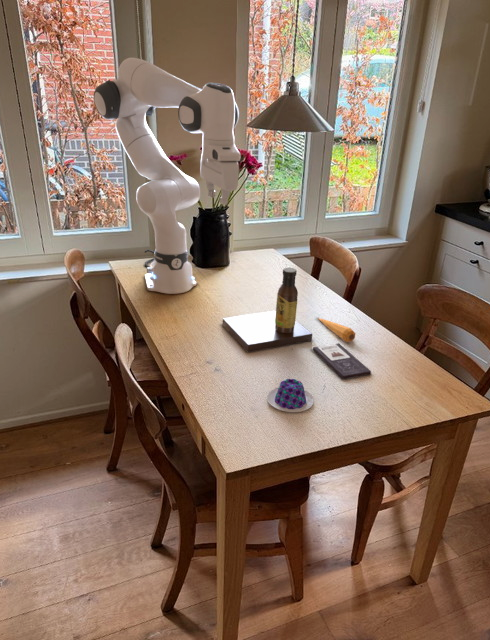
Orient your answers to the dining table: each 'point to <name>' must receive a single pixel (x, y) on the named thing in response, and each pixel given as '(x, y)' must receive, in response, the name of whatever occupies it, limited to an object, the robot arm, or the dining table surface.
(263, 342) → the walnut board
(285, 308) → the sauce bottle
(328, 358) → the chocolate bar
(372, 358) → the dining table surface
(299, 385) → the pudding
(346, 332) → the carrot
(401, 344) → the dining table surface
